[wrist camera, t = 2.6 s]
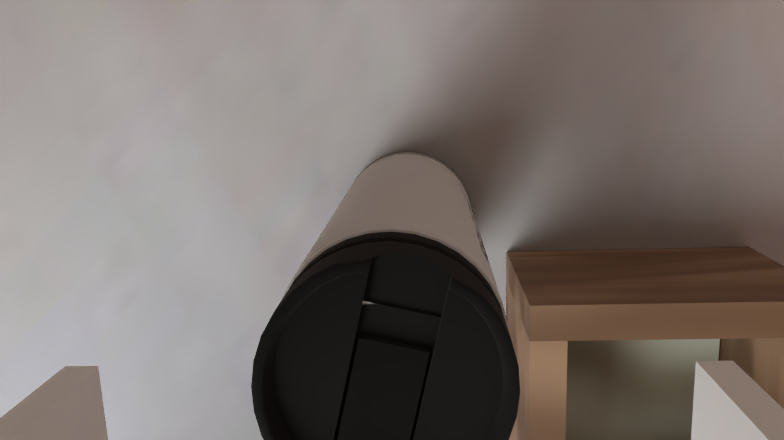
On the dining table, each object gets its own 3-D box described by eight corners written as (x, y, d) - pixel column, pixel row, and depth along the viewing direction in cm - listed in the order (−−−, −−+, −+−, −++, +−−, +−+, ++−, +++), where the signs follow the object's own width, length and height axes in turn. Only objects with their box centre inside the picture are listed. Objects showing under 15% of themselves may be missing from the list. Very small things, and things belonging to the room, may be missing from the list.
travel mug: (334, 264, 35) (220, 509, 16) (359, 139, 34) (266, 237, 14) (453, 289, 35) (485, 566, 16) (482, 165, 34) (560, 300, 14)
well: (506, 252, 34) (530, 305, 27) (748, 247, 34) (845, 300, 26) (506, 463, 37) (527, 568, 29) (731, 462, 36) (814, 570, 29)
